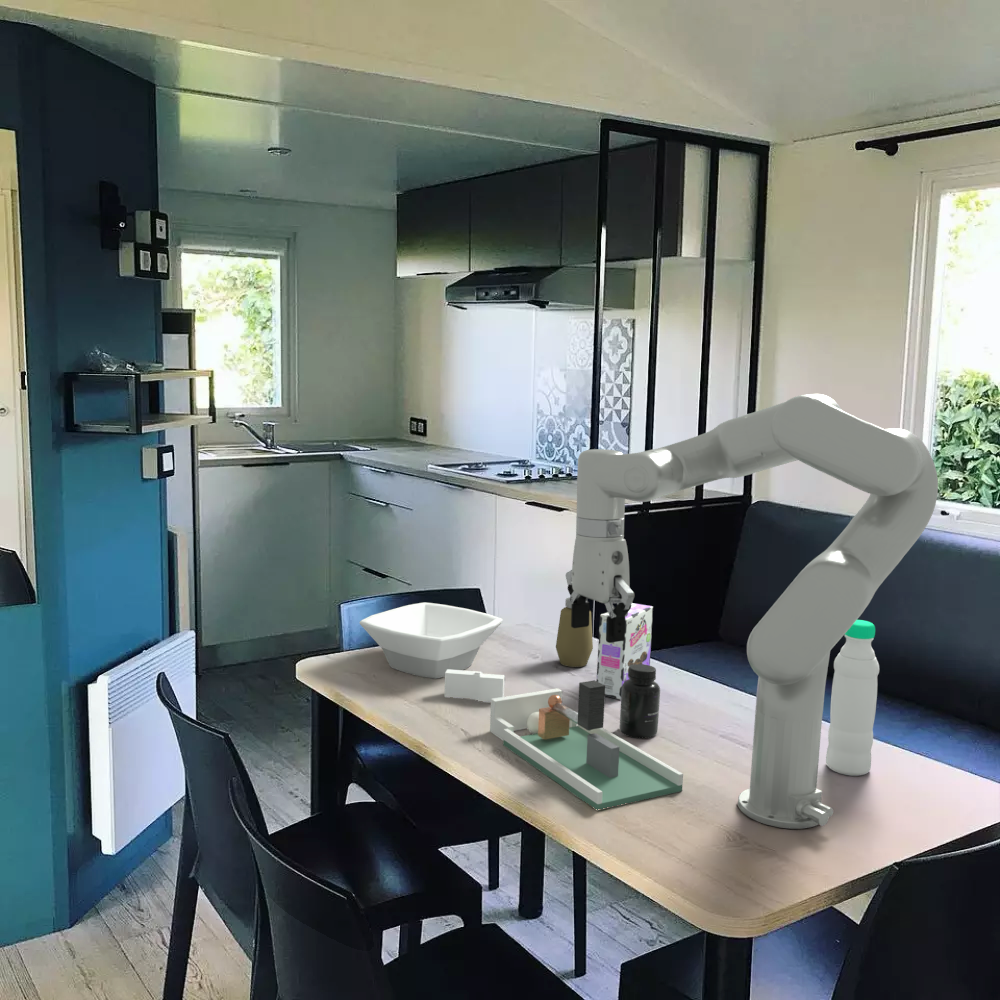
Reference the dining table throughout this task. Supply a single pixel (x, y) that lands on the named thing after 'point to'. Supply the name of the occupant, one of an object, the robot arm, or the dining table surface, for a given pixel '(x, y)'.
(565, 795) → the dining table surface
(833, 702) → the water bottle
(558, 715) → the copper block with rod
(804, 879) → the dining table surface
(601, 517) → the robot arm
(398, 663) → the bowl
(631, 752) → the pitch
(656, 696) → the supplement bottle
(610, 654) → the candy box
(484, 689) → the white stepped block
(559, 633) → the squeeze bottle
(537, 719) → the ball
